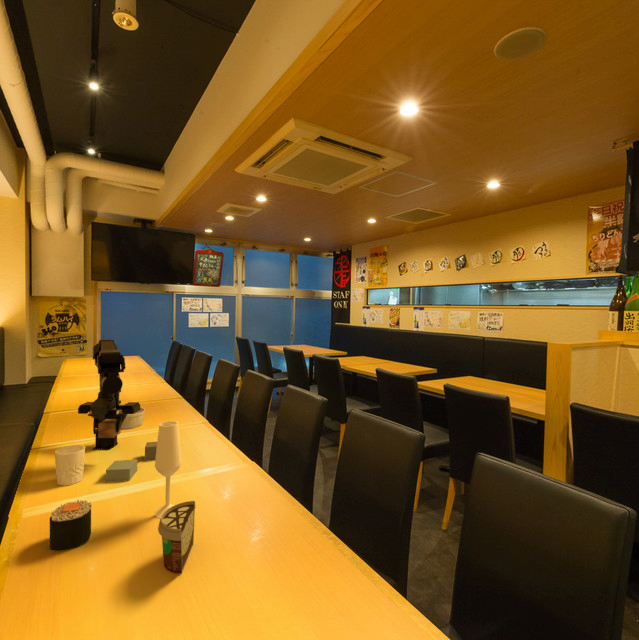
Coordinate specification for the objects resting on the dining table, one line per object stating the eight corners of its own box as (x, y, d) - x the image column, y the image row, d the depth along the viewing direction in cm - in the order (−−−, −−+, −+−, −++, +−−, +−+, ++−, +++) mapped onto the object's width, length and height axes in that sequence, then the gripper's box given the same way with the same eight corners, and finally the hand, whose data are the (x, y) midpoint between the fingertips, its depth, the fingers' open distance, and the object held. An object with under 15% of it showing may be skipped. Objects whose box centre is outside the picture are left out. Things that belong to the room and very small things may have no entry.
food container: (168, 541, 87) (168, 500, 87) (195, 540, 88) (195, 499, 88) (148, 580, 75) (149, 531, 75) (179, 578, 76) (180, 530, 75)
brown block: (144, 461, 132) (144, 447, 132) (146, 455, 137) (146, 442, 137) (159, 459, 133) (160, 446, 133) (161, 454, 138) (161, 441, 138)
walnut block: (98, 437, 126) (98, 423, 126) (106, 432, 131) (106, 419, 131) (113, 437, 127) (113, 423, 126) (120, 433, 132) (120, 419, 131)
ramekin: (116, 432, 160) (116, 416, 160) (109, 424, 170) (109, 409, 170) (148, 426, 169) (148, 411, 169) (140, 419, 179) (140, 405, 179)
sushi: (45, 555, 82) (45, 519, 81) (55, 533, 89) (55, 501, 89) (88, 546, 85) (88, 512, 85) (94, 526, 93) (94, 495, 92)
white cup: (52, 488, 111) (52, 455, 110) (57, 477, 118) (57, 446, 117) (83, 483, 114) (83, 451, 114) (86, 473, 121) (86, 443, 121)
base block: (105, 482, 116) (105, 469, 116) (114, 472, 123) (114, 460, 123) (129, 481, 117) (129, 469, 117) (137, 471, 124) (137, 459, 124)
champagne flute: (161, 504, 104) (162, 419, 103) (184, 505, 103) (186, 420, 103) (149, 518, 97) (150, 427, 96) (174, 519, 97) (175, 428, 96)
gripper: (67, 392, 120) (67, 440, 120) (126, 393, 121) (126, 440, 121) (87, 385, 131) (87, 429, 132) (141, 386, 132) (140, 429, 133)
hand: (109, 432), depth 129 cm, fingers closed on walnut block, 5 cm apart
